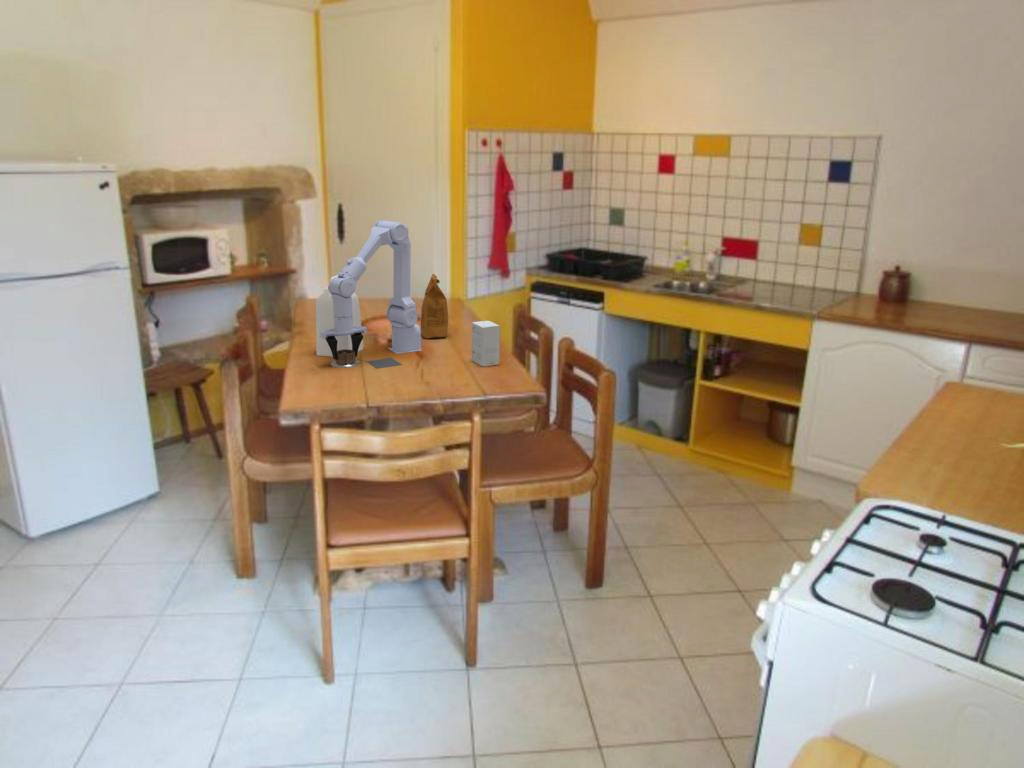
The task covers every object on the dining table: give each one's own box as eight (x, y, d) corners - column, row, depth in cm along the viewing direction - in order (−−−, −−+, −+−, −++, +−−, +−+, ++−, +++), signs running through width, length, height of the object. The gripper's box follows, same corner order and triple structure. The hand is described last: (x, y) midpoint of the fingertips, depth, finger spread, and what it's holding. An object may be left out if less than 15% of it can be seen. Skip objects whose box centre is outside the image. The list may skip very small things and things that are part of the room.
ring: (357, 363, 237) (357, 352, 236) (340, 366, 233) (340, 355, 232) (350, 359, 241) (349, 348, 240) (333, 361, 238) (332, 351, 237)
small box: (499, 364, 243) (500, 325, 238) (482, 367, 240) (482, 327, 235) (488, 358, 249) (488, 320, 245) (471, 360, 246) (471, 321, 242)
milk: (349, 359, 244) (345, 280, 236) (316, 356, 246) (311, 278, 238) (363, 350, 255) (360, 274, 247) (332, 347, 257) (327, 272, 249)
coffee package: (446, 330, 283) (446, 272, 276) (449, 339, 271) (448, 279, 264) (420, 331, 281) (419, 273, 274) (421, 339, 270) (420, 279, 263)
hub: (353, 360, 244) (353, 347, 242) (364, 367, 236) (363, 354, 235) (327, 363, 239) (326, 351, 238) (336, 371, 232) (336, 358, 231)
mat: (391, 359, 245) (391, 357, 245) (402, 366, 238) (402, 364, 238) (365, 363, 241) (365, 361, 240) (376, 370, 234) (376, 368, 233)
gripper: (360, 310, 240) (362, 351, 244) (316, 315, 232) (318, 357, 236) (368, 315, 234) (370, 356, 238) (323, 320, 226) (326, 363, 231)
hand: (345, 357), depth 237 cm, fingers closed on ring, 6 cm apart
